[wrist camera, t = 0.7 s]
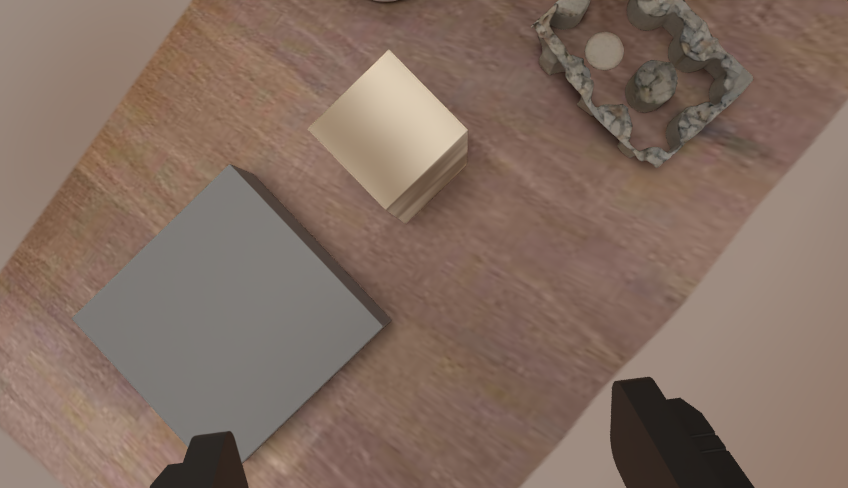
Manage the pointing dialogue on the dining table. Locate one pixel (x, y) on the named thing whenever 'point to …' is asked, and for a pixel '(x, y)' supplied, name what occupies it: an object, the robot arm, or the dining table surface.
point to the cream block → (394, 137)
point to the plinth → (231, 315)
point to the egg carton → (645, 69)
